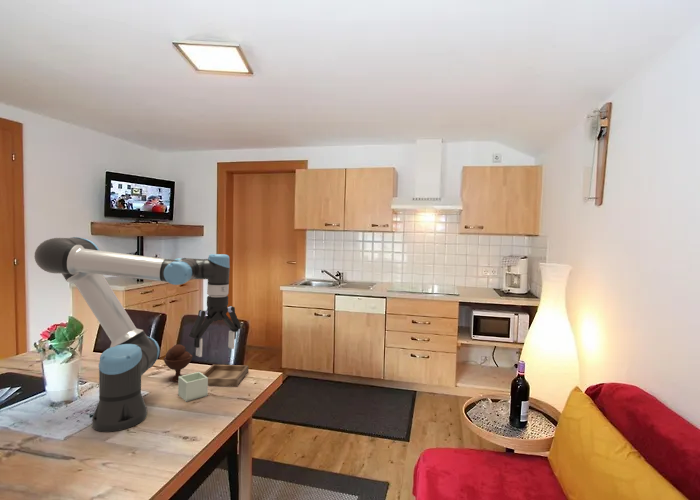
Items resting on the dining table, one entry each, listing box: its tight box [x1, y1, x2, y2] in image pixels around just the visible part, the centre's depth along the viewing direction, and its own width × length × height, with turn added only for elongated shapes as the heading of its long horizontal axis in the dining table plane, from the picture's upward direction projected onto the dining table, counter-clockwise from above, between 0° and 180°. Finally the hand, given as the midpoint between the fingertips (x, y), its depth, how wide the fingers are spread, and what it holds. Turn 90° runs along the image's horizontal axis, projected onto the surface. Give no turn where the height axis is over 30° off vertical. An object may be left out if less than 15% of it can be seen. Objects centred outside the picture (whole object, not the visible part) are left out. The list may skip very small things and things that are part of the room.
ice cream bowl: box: [163, 343, 193, 382], centre depth 155 cm, size 11×11×15 cm
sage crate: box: [177, 371, 209, 402], centre depth 140 cm, size 8×8×7 cm
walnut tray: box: [202, 364, 249, 388], centre depth 157 cm, size 16×16×3 cm
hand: (215, 351), depth 137 cm, fingers open, 13 cm apart
